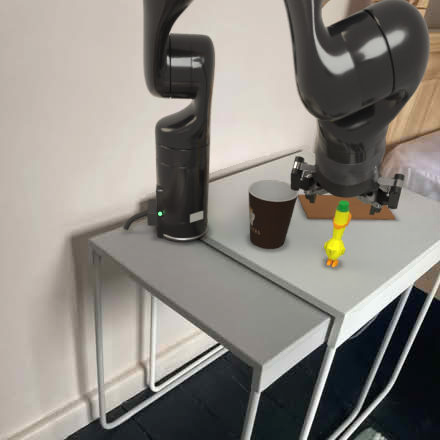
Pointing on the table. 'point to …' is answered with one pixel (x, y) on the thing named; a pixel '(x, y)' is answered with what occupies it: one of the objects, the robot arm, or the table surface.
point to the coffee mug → (270, 212)
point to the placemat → (328, 204)
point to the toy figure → (338, 234)
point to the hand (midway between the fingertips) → (343, 202)
